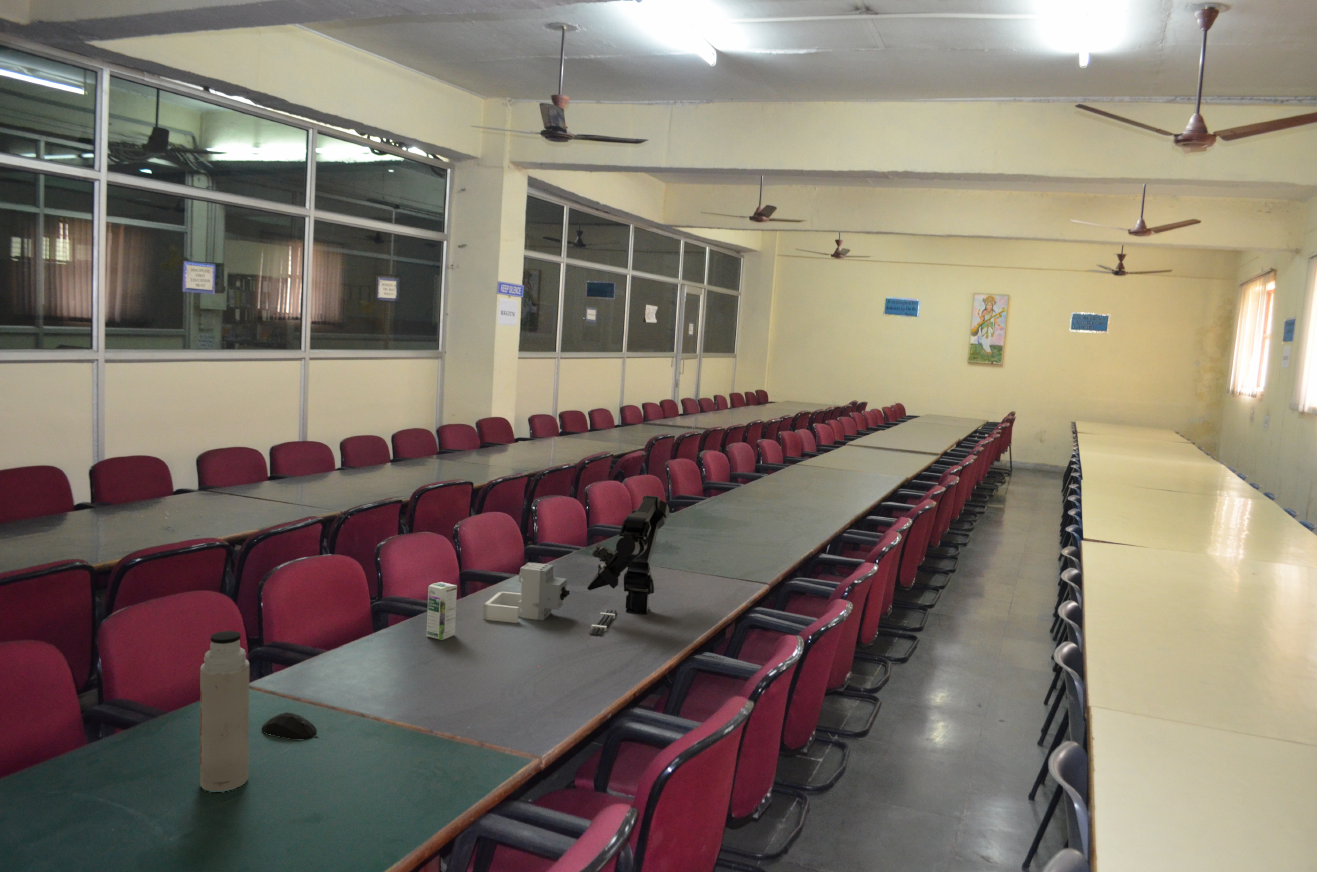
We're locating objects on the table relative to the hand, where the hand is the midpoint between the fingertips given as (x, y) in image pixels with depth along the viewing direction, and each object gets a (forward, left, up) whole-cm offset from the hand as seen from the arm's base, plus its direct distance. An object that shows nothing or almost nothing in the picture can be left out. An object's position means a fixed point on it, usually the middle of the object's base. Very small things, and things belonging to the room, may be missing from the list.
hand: (588, 589), depth 270 cm
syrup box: (+35, +29, -9) cm, 46 cm away
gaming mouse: (+40, +93, -10) cm, 101 cm away
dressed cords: (-6, +4, -9) cm, 11 cm away
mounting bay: (+23, +4, -9) cm, 25 cm away
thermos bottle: (+41, +115, -9) cm, 122 cm away
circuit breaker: (+13, +3, -9) cm, 16 cm away
